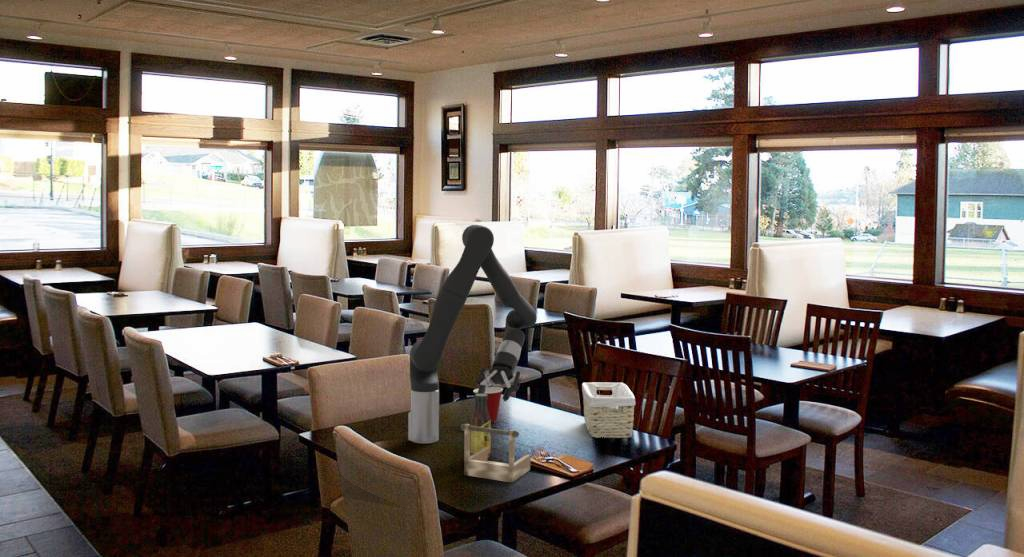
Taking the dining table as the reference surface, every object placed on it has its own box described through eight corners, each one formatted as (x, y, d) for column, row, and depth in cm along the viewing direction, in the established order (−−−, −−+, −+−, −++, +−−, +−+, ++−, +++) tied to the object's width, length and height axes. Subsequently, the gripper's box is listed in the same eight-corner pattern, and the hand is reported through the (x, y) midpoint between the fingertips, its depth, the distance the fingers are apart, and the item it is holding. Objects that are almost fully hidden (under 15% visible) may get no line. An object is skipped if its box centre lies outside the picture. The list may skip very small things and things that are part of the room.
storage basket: (635, 439, 294) (636, 396, 293) (588, 439, 294) (588, 396, 293) (624, 421, 318) (625, 381, 317) (580, 421, 318) (581, 381, 316)
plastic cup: (485, 416, 323) (485, 384, 322) (508, 420, 317) (509, 388, 316) (466, 421, 314) (467, 389, 313) (490, 426, 308) (491, 393, 307)
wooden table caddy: (458, 474, 254) (459, 424, 253) (479, 462, 267) (479, 414, 265) (516, 483, 247) (517, 431, 246) (534, 470, 259) (535, 421, 258)
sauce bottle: (487, 461, 268) (488, 397, 266) (468, 459, 269) (468, 396, 267) (492, 455, 274) (493, 393, 272) (473, 453, 275) (473, 392, 274)
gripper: (484, 348, 287) (468, 389, 278) (524, 352, 281) (509, 394, 272) (491, 362, 292) (475, 402, 283) (530, 365, 287) (515, 407, 277)
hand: (492, 398), depth 277 cm, fingers open, 8 cm apart
